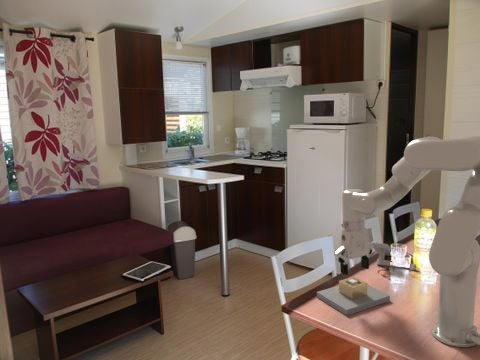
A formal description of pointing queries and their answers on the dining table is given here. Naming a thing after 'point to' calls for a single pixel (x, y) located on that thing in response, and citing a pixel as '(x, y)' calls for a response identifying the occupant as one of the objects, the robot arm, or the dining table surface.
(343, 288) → the collar
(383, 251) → the door handle
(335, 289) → the post stand
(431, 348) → the dining table surface
